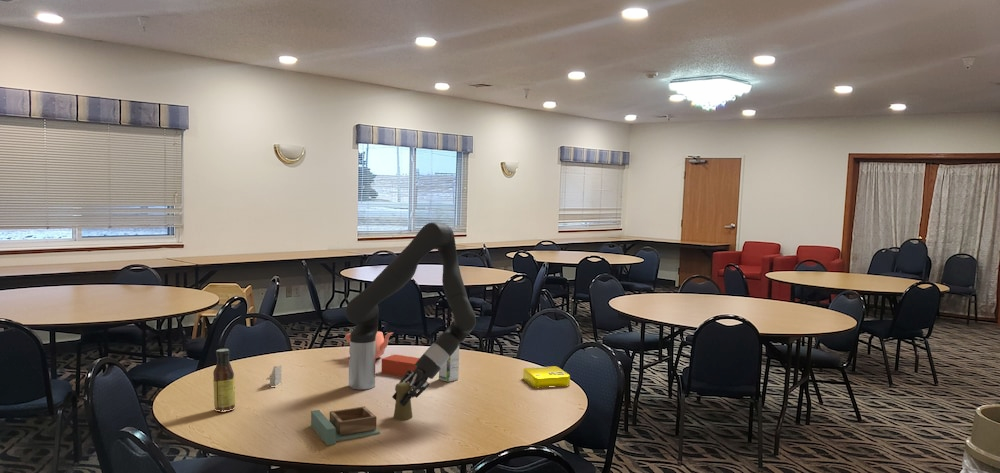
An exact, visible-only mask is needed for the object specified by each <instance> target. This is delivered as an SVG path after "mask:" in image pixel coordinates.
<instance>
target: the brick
mask: <svg viewBox="0 0 1000 473" xmlns="http://www.w3.org/2000/svg"><path fill="white" fill-rule="evenodd" d="M419 358H420V357H414V356H408V355H402V354H391V355H390V356H389V355H388V356H386V357H383V358H381V374H385V375H392V376H398V377H402V378H403V377H404V375H405V374H406V372H407V371H408V370H410V371H411V372H413V371H414V370H415V369H416V368H417V367H416V365H415V363H416V362H417V361H418V360H419Z"/></svg>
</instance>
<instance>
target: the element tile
mask: <svg viewBox="0 0 1000 473" xmlns="http://www.w3.org/2000/svg"><path fill="white" fill-rule="evenodd" d="M522 371H523V372H522V373H523V374H522V380H524V381H525V382H526V383H527V384H528V383H529V385H530V386H531V387H532V388H534V387H536V388H535V389H538V388H537V387H549V386H564V387H567V386H566V385H569V386H571V384H570V383H571V382H570V381H571V375H570V374H569V373H567V372H566V371H564V370H563V369H561V368H560V367H558V366H555V365H554V366H552V365H551V366H539V367H536V366H535V367H525V368H523V369H522Z"/></svg>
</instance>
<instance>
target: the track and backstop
mask: <svg viewBox="0 0 1000 473" xmlns="http://www.w3.org/2000/svg"><path fill="white" fill-rule="evenodd" d="M310 414H311V415H310V418H311V420H310V426H311V428H312V429H313V430H314V431H315V432H316V433H317V435H318V436H319V437H320V439H321V440H322V441H323V443H325V445H326V446H331V445H332V446H333V445H336V442H340V441H346V440H351V439H357V438H364V437H368V436H374V435H380V434H381V432H380V430H379V429H378V428H376V430H370V431H364V432H358V433H352V434H346V435H341V436H340V435H339V434H338V433H337V432H336V428H335V427H334V426H333V425H332V424H331V422H330V419H328V418H327V417H326V415H324V413H323V412H322V411H321V410H320V409H315V410H311V411H310Z"/></svg>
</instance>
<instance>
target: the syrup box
mask: <svg viewBox="0 0 1000 473" xmlns="http://www.w3.org/2000/svg"><path fill="white" fill-rule="evenodd" d="M459 366H460V345H459V346H458V347H457V349H456V350H455V351H454V353H453V354H452V355H451V356H450V357H449V359H448V360H447V362H446V363H445V364H444V366H443V367H442V368H441V369H440V370H439V372H438V380H441V381H443V382H444V381H445V382H447V383H450V382H454V381H457V380H459V373H460V371H459V370H460V367H459Z"/></svg>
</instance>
